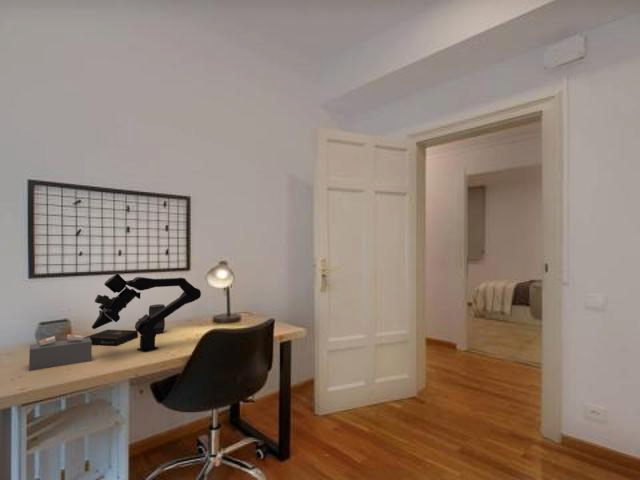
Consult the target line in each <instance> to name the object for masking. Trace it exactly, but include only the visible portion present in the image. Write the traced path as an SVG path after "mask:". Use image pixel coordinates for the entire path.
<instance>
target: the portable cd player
mask: <svg viewBox="0 0 640 480" xmlns="http://www.w3.org/2000/svg"><path fill="white" fill-rule="evenodd" d="M138 336H139V332H138V331H137V330H132V329H131V330H130V329H129V330H127V329H106V330H102V331H98V332H95V333H93V334H91V335H87V336H84V337H83V338H89V337H90V339H91V341H92V346H98V345H100V346H101V347H102V346H103V347H118V346H121V345H122V344H125V343H128V342H130V341H132V339H133V340H135V339H137V338H139V337H138ZM120 344H121V345H120Z"/></svg>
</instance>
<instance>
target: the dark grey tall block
mask: <svg viewBox="0 0 640 480" xmlns="http://www.w3.org/2000/svg"><path fill="white" fill-rule="evenodd" d="M164 307H166V305H165V304H160V303H159V304H157V303H156V304H152V305H149V306H148V316H151V315H153V314H155V313H156V312H158V311H160V310H161V309H163V308H164ZM165 321H166V320H165V318H164V319H163V320H161V321H160V322H159V323H158V324H157V325H156V326H155V328H154V329H153V330H155V331H156V332H157V334H156V335H160V334H164V330H165V326H166V323H165Z"/></svg>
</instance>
